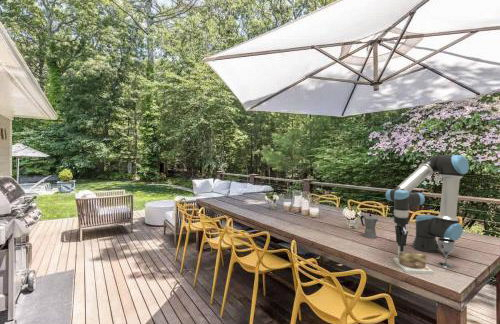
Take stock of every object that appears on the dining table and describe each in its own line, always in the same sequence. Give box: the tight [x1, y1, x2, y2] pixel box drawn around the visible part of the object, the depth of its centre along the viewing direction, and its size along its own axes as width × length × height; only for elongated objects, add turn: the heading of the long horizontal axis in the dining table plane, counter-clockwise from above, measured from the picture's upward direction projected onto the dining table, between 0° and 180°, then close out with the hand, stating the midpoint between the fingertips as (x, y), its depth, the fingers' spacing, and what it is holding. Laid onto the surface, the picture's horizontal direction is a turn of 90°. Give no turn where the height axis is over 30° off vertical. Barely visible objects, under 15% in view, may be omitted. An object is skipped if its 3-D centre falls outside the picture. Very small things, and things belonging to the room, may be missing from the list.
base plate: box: [393, 257, 434, 275], centre depth 159 cm, size 14×18×2 cm
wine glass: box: [437, 237, 456, 269], centre depth 160 cm, size 8×8×15 cm
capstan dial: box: [398, 251, 427, 268], centre depth 158 cm, size 14×13×6 cm
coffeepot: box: [359, 213, 379, 239], centre depth 216 cm, size 15×9×18 cm, turn 33°
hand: (400, 256), depth 162 cm, fingers closed
